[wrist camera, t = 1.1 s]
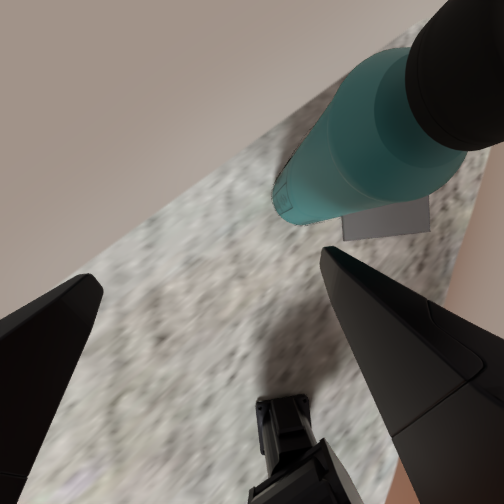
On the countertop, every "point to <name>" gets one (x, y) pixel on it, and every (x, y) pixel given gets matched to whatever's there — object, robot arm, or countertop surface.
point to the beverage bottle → (403, 119)
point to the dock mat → (388, 220)
